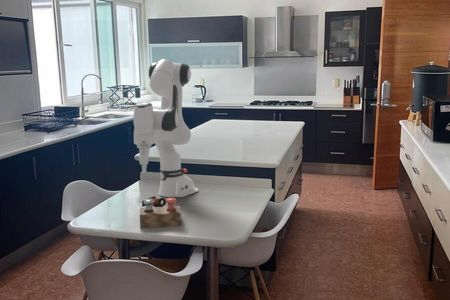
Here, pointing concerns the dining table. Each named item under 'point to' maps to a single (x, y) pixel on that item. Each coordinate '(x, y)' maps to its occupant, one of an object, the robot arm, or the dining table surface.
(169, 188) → the robot arm
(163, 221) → the walnut plug panel
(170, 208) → the red plug
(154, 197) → the pottery mug
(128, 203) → the dining table surface
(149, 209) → the steel plug
